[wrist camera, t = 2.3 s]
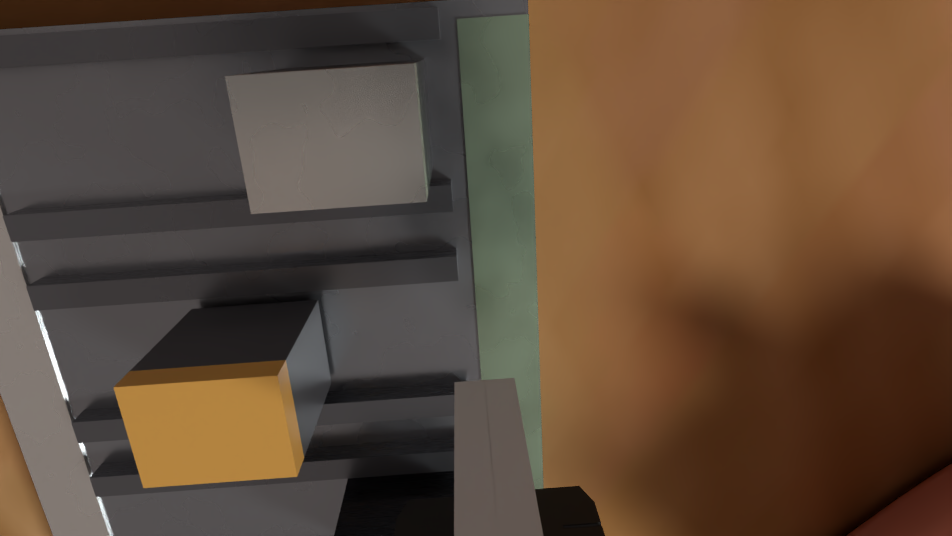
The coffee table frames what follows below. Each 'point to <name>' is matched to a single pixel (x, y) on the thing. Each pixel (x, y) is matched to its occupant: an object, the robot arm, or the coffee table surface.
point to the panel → (268, 243)
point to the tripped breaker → (227, 395)
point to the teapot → (916, 511)
